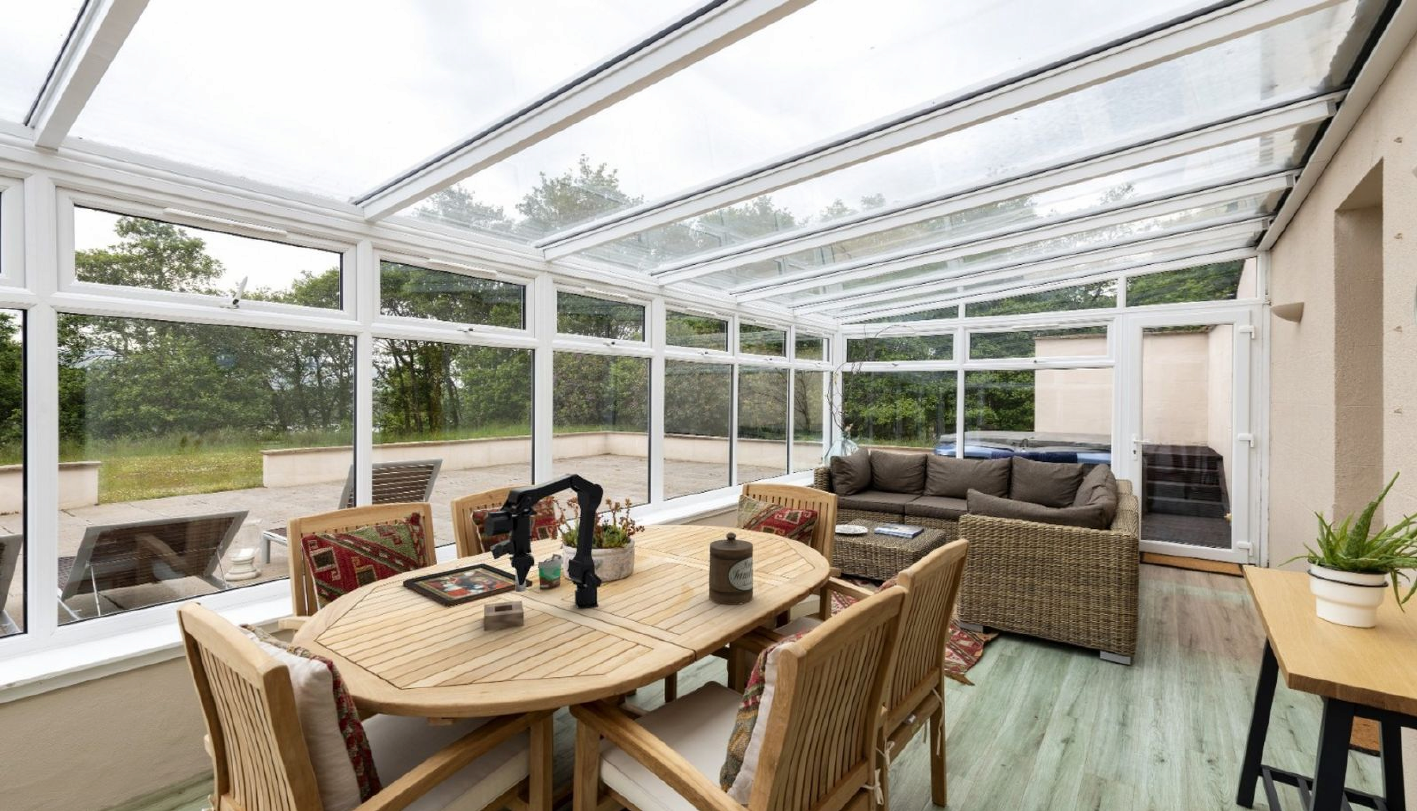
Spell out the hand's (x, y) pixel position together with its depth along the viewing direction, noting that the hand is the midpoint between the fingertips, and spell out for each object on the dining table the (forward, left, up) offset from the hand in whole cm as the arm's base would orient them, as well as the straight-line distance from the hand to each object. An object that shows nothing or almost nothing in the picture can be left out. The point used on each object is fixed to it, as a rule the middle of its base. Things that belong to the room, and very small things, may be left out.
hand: (520, 583), depth 186 cm
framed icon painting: (+16, -46, -13) cm, 50 cm away
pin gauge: (0, 0, -2) cm, 2 cm away
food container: (-13, -35, -12) cm, 40 cm away
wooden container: (-68, -2, -12) cm, 69 cm away
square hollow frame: (+5, -4, -12) cm, 14 cm away
